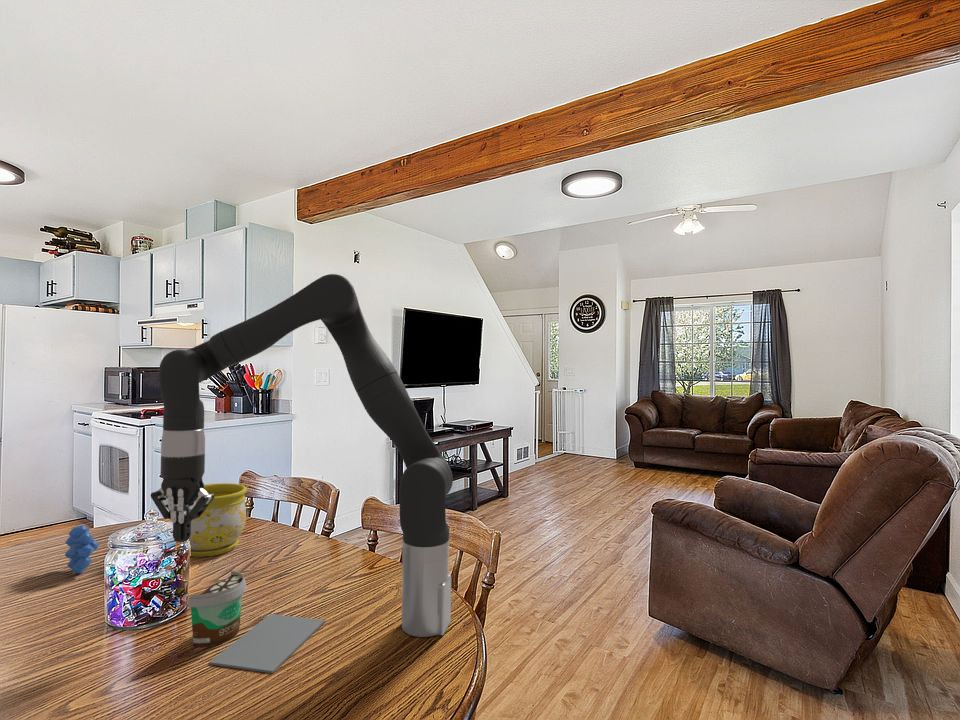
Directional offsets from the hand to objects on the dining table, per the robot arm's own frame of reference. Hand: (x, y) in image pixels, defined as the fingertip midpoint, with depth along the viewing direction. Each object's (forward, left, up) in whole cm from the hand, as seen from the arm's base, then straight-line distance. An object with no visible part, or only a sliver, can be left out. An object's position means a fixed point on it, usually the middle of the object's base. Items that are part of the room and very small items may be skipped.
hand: (181, 540), depth 103 cm
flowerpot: (+25, -40, -18) cm, 50 cm away
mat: (-20, 0, -17) cm, 26 cm away
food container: (-10, 0, -18) cm, 20 cm away
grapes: (+44, -19, -18) cm, 51 cm away
